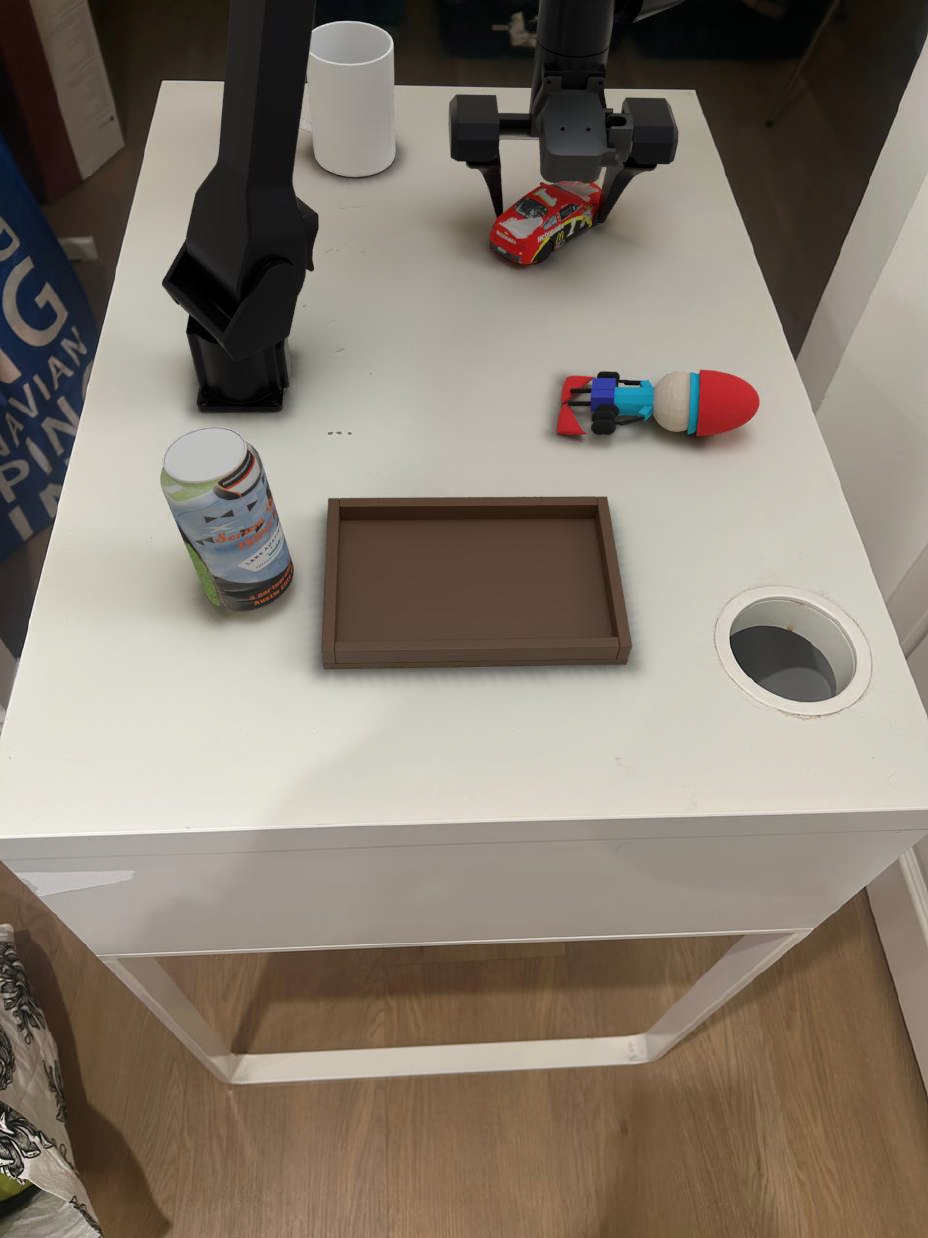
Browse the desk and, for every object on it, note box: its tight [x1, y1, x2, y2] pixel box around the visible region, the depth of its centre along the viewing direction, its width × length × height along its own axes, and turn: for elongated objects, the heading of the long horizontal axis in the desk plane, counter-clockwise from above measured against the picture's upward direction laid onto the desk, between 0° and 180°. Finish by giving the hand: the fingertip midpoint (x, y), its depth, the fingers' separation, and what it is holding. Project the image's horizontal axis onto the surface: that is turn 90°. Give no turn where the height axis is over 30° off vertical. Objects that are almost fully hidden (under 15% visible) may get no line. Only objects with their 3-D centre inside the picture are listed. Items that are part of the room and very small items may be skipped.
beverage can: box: [159, 425, 295, 612], centre depth 61 cm, size 6×7×12 cm
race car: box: [488, 181, 602, 265], centre depth 88 cm, size 13×5×4 cm, turn 136°
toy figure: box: [556, 369, 761, 437], centre depth 75 cm, size 8×5×15 cm
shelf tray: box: [320, 495, 633, 670], centre depth 65 cm, size 20×13×2 cm, turn 93°
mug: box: [299, 20, 397, 178], centre depth 90 cm, size 12×8×10 cm, turn 95°
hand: (549, 220), depth 88 cm, fingers open, 9 cm apart
